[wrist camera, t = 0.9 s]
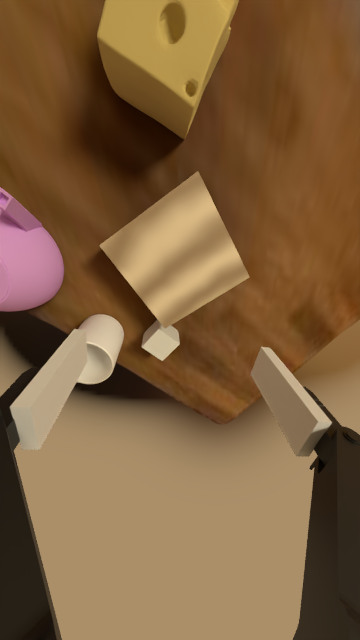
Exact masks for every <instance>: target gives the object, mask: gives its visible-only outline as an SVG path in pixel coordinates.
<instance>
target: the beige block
mask: <svg viewBox="0 0 360 640" xmlns="http://www.w3.org/2000/svg"><path fill="white" fill-rule="evenodd" d="M179 344H180V342H179V334H178V331H177V330H176V329H175V328H173V327H172V326H171V325H170V326H168V327H167V328H164V327H163V326H162V324H161V323H160V322H159V321H158V319H157V320H156V321H155V322H154V323H153V324H152V325H151V326H150V327H149V328H148V330H147V331H146V332H145V333H144V335H143V341H142V348H144V349H145V350H147V351H148V352H150V353H151V354H153V355H154V356H156V357H157V358H159V359H160V360H162V361H163V360H164V359H165V358H166V357H167V356H168V355H169V354H170V353H171V352H172V351H173V350H174V349H175V348H176V347H177V346H178V345H179Z"/></svg>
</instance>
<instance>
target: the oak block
mask: <svg viewBox="0 0 360 640" xmlns="http://www.w3.org/2000/svg"><path fill="white" fill-rule="evenodd" d="M99 246H100V247H101V248H102V250H103V251H104V252H105V253H106V255H107V256H108V257H109V259H110V260H111V261H112V262H113V264H114V265H115V266H116V267H117V269H118V270H119V271H120V272H121V274H122V275H123V276H124V278H125V279H126V280H127V281H128V283H129V284H130V285H131V286H132V288H133V289H134V290H135V291H136V293H137V294H138V295H139V297H140V298H141V299H142V300H143V302H144V303H145V304H146V305H147V307H148V308H149V309H150V310H151V312H152V313H153V314H154V316H155V317H156V318H157V319H158V321H159V322H160V323H161V324H162V326H163V327H164V328H167V327H168V326H170V325H172V324H173V323H175V322H177V321H178V320H180V319H182V318H183V317H185V316H187V315H188V314H190V313H191V312H193V311H195V310H196V309H198V308H200V307H201V306H203V305H205V304H206V303H208V302H210V301H211V300H213V299H215V298H216V297H218V296H219V295H221V294H223V293H224V292H226V291H228V290H229V289H231V288H233V287H234V286H236V285H238V284H239V283H241V282H243V281H244V280H246V279H247V278H249V275H248V273H247V271H246V269H245V267H244V265H243V263H242V260H241V258H240V256H239V254H238V252H237V250H236V248H235V246H234V244H233V242H232V240H231V238H230V236H229V234H228V232H227V230H226V227H225V225H224V223H223V221H222V219H221V217H220V215H219V213H218V211H217V209H216V207H215V205H214V203H213V201H212V199H211V197H210V194H209V192H208V190H207V188H206V186H205V184H204V182H203V180H202V178H201V176H200V174H199V172H196V173H195V174H194V175H192V176H191V177H190V178H188V179H187V180H186V181H184V182H183V183H182V184H180V185H179V186H178V187H176V188H175V189H174V190H172V191H171V192H170V193H168V194H167V195H166V196H164V197H163V198H162V199H160V200H159V201H158V202H156V203H155V204H154V205H152V206H151V207H150V208H148V209H147V210H146V211H144V212H143V213H142V214H141V215H139V216H138V217H137V218H135V219H134V220H133V221H131V222H130V223H129V224H127V225H126V226H125V227H123V228H122V229H121V230H119V231H118V232H117V233H115V234H114V235H113V236H111V237H110V238H109V239H107V240H106V241H105V242H103V243H102V244H101V245H99Z"/></svg>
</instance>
